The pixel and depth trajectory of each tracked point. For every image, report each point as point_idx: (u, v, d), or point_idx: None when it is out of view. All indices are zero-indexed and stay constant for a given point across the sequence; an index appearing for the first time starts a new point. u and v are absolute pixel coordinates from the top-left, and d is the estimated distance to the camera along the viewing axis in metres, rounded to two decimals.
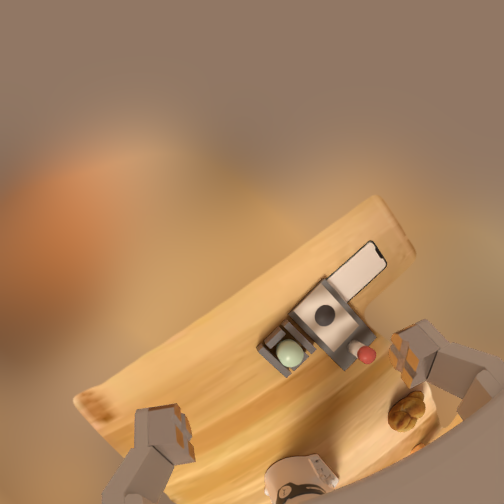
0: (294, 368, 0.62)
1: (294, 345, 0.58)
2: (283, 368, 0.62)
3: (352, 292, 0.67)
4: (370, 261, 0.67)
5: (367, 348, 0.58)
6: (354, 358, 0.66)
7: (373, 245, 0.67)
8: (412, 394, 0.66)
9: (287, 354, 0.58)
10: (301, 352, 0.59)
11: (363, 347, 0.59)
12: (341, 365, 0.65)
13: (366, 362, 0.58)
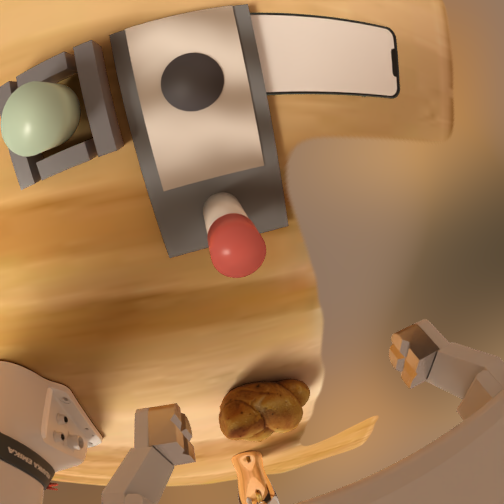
0: (44, 173, 0.19)
1: (48, 90, 0.13)
2: (22, 160, 0.18)
3: (294, 82, 0.23)
4: (370, 59, 0.23)
5: (247, 225, 0.19)
6: None
7: (392, 41, 0.22)
8: (291, 385, 0.37)
9: (22, 109, 0.13)
10: (55, 121, 0.14)
11: (238, 217, 0.20)
12: (167, 239, 0.26)
13: (220, 265, 0.19)
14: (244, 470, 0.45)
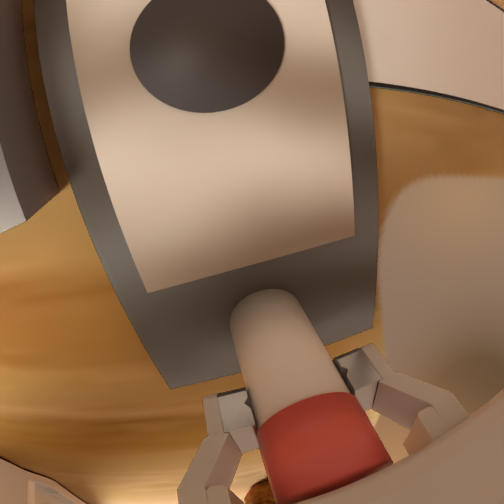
0: None
1: None
2: None
3: (405, 69, 0.10)
4: (494, 53, 0.10)
5: (367, 445, 0.06)
6: (238, 365, 0.14)
7: None
8: None
9: None
10: None
11: (338, 411, 0.07)
12: (164, 365, 0.13)
13: None
14: None
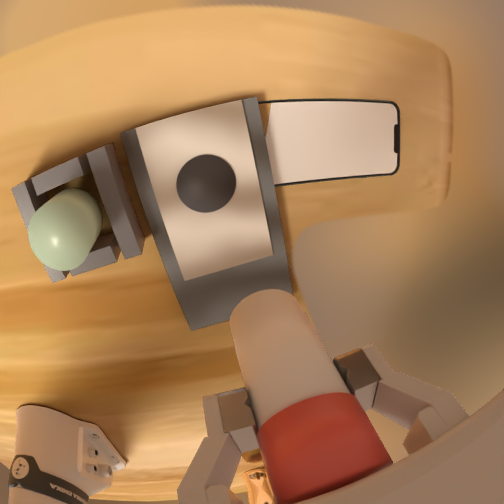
0: (74, 271, 0.22)
1: (73, 213, 0.17)
2: None
3: (299, 172, 0.26)
4: (373, 139, 0.26)
5: (367, 446, 0.06)
6: (224, 317, 0.30)
7: (395, 116, 0.26)
8: None
9: (48, 229, 0.17)
10: (84, 243, 0.18)
11: (338, 412, 0.07)
12: (189, 316, 0.29)
13: None
14: (253, 485, 0.48)
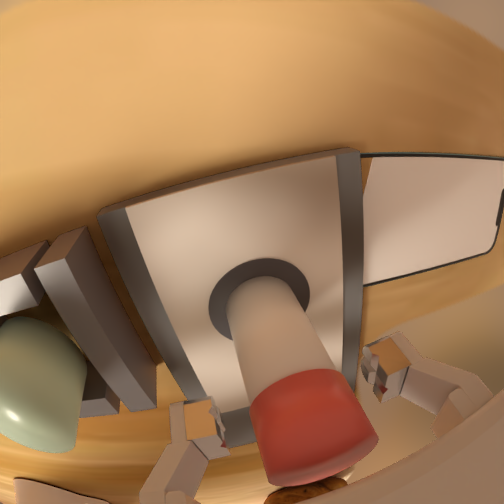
0: None
1: (31, 404, 0.07)
2: None
3: (393, 266, 0.17)
4: (480, 211, 0.16)
5: (352, 418, 0.07)
6: None
7: None
8: (335, 486, 0.31)
9: (1, 411, 0.07)
10: (65, 436, 0.08)
11: (325, 386, 0.08)
12: None
13: (285, 481, 0.07)
14: None
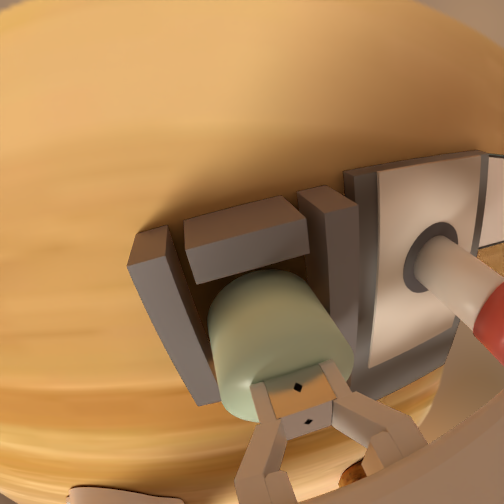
0: None
1: (339, 346, 0.10)
2: (205, 378, 0.14)
3: (487, 236, 0.19)
4: None
5: None
6: (385, 393, 0.23)
7: None
8: None
9: (277, 374, 0.10)
10: None
11: None
12: None
13: None
14: None
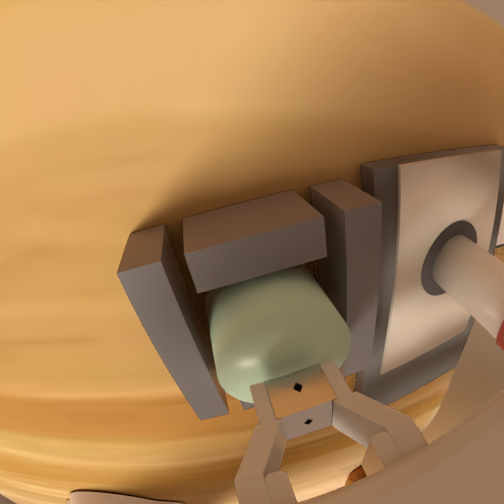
0: (251, 403, 0.13)
1: (336, 324, 0.10)
2: (208, 392, 0.12)
3: (502, 235, 0.17)
4: None
5: None
6: (395, 398, 0.21)
7: None
8: None
9: (273, 351, 0.10)
10: (335, 363, 0.11)
11: None
12: None
13: None
14: None
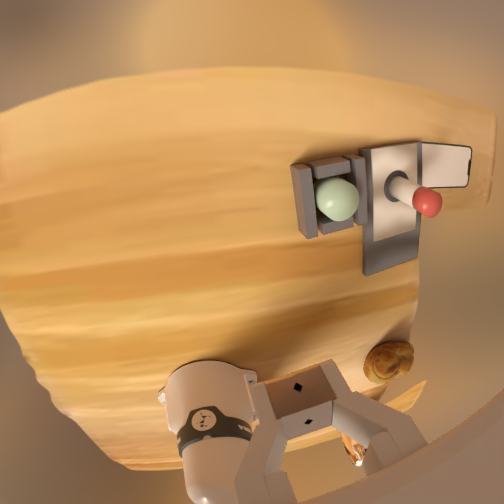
0: (326, 231, 0.38)
1: (354, 189, 0.35)
2: (313, 221, 0.37)
3: (428, 182, 0.42)
4: (459, 167, 0.42)
5: (435, 192, 0.33)
6: (384, 267, 0.46)
7: (470, 154, 0.42)
8: (408, 344, 0.57)
9: (338, 196, 0.35)
10: (355, 206, 0.36)
11: (428, 188, 0.34)
12: (368, 266, 0.45)
13: (426, 210, 0.33)
14: None
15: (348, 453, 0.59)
